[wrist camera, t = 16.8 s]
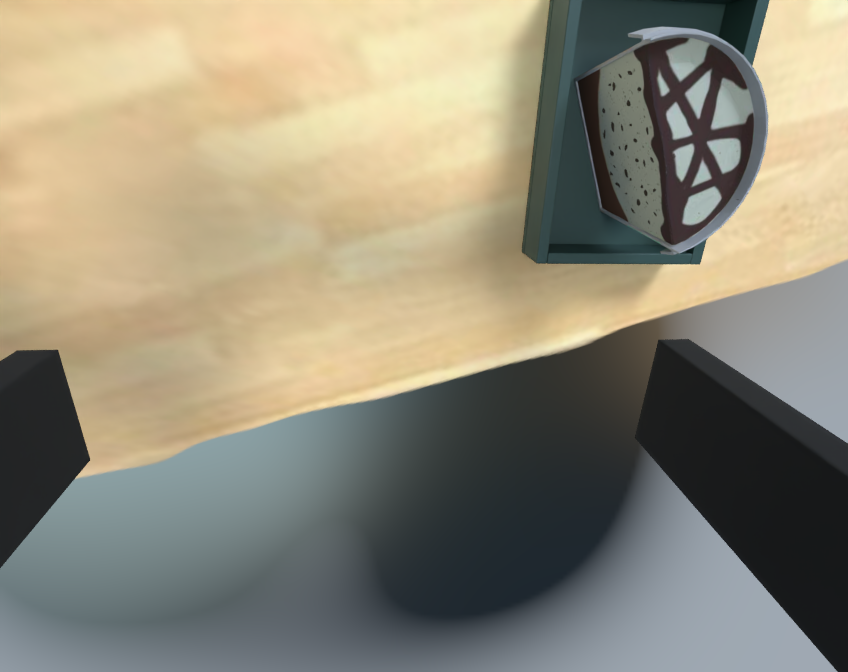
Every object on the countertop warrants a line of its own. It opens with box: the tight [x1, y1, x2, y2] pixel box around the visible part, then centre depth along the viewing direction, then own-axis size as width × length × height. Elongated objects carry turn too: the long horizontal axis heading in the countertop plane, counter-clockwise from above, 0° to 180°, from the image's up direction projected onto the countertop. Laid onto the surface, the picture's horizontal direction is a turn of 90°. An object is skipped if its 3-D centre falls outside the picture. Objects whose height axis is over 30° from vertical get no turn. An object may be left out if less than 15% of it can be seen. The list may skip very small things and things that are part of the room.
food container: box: [574, 27, 768, 255], centre depth 30 cm, size 12×6×10 cm, turn 20°
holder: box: [522, 0, 769, 264], centre depth 33 cm, size 13×18×4 cm
